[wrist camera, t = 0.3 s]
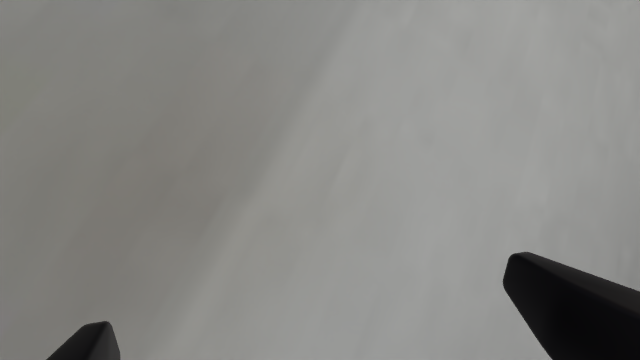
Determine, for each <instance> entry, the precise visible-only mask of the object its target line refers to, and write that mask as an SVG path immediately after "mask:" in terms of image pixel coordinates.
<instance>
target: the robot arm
mask: <svg viewBox="0 0 640 360" xmlns="http://www.w3.org/2000/svg"><path fill="white" fill-rule="evenodd" d="M503 286H504V289H505V291H506V292H507V294H508V296H509V297H510V299H511V300H512V302H513V303H514V305H515V306H516V308H517V309H518V311H519V312H520V314H521V315H522V317H523V318H524V320H525V321H526V323H527V324H528V326H529V327H530V329H531V331H532V332H533V334H534V335H535V337H536V338H537V340H538V341H539V342H540V344H541V345H542V347H543V348H544V349H545V351H546V352H547V353H548V355H549V356H550V357H551V359H552V360H640V292H639V291H637V290H634V289H631V288H628V287H625V286H623V285H620V284H617V283H614V282H611V281H609V280H606V279H603V278H600V277H597V276H595V275H592V274H589V273H586V272H583V271H581V270H578V269H575V268H572V267H569V266H566V265H564V264H561V263H558V262H555V261H552V260H550V259H547V258H544V257H541V256H538V255H536V254H533V253H530V252H521V253H515V254H512V255H511V256H510V257H509V259H508V263H507V267H506V270H505V274H504V278H503ZM46 360H120V351H119V347H118V344H117V341H116V338H115V334H114V331H113V328H112V325H111V324H110V323H109V322H107V321H103V322H97V323H91V324H86V325H84V326H83V327H81V328H80V329H79V330H78V331H77V332H76V333H75V334H74V335H72V336H71V337H70V338H69V339H68V340H67V341H66V342H65V343H64V344H63V345H62V346H61V347H59V348H58V349H57V350H56V351H55V352H54V353H53V354H52V355H51V356H50V357H49V358H48V359H46Z"/></svg>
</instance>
